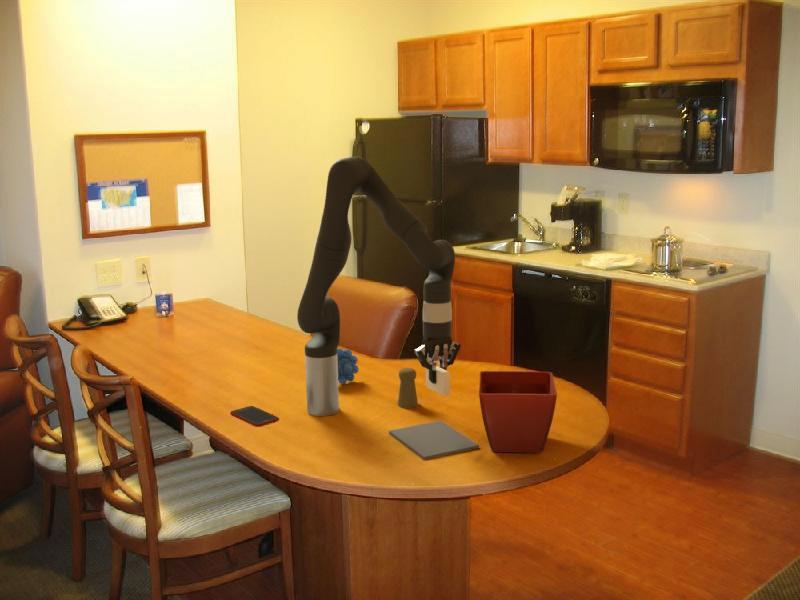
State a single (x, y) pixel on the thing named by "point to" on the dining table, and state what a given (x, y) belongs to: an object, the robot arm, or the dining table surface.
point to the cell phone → (254, 416)
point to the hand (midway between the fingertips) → (437, 381)
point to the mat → (433, 440)
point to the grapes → (346, 365)
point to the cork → (407, 388)
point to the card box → (439, 381)
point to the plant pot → (517, 409)
